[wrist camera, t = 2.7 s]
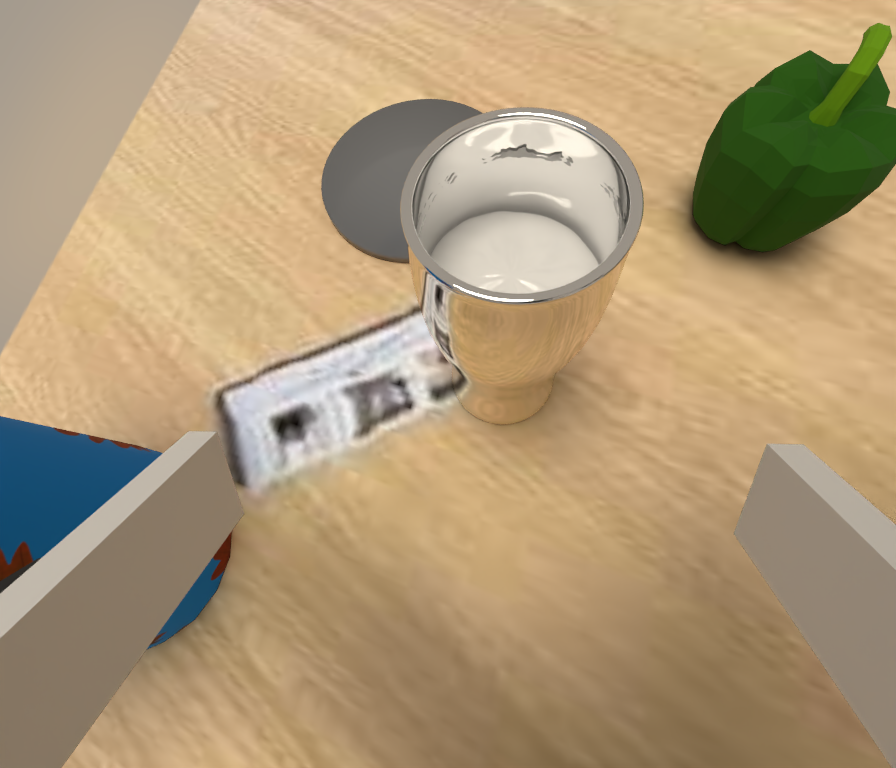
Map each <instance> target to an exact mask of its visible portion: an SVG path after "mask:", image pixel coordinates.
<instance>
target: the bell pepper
mask: <svg viewBox="0 0 896 768" xmlns="http://www.w3.org/2000/svg"><path fill="white" fill-rule="evenodd" d="M891 38H892V34H891V29H890V26H886V25H883V24H880V23H877V24H875V25H873V26H871V27H869V28H868V30H867V31H866V32H865V33H864V34H863V40H862V43H861V45H860V47H859V49H858V51H857V53H856V54H855V56H854V58H853V59H852V61H851V62H850V64H833V63H831V62H829V61H827V60H826V59H824V58H822V57H821V56H819V55H817V54H816V53H814V52H812V51H810V50H809V51H807V52H806V53H804V54H802V55H800V56H798V57H796V58H794V59H792V60H790V61H788V62H786V63H784V64H783V65H781V66H779V67H777V68H775V69H774V70H772V71H771V72H770V73H769V74H767V75H766V76H765V77H764V78H762V79H761V80H760V81H759V82H757V83H756V85H755V86H754V87H750V88H749V89H748V90H747V91H745V92H744V93H743V94H742V95H740V96H739V97H738V98H737V99H735V100H734V101H733V102H731V103H730V104H729V106H728V107H727V108H726V110H725V111H724V112H723V114H722V116H721V118H720V120H719V121H718V123H717V125H716V127H715V129H714V131H713V132H712V134H711V136H710V138H709V140H708V141H707V143H706V147H705V150H704V153H703V157H702V160H701V163H700V167H699V170H698V174H697V178H696V182H695V187H694V191H693V216H694V218H695V221H696V223H697V224H698V225H699V226H700V228H701V229H702V230H703V232H704V233H705V234H706V236H707V237H708V238H710V239H712V240H714V241H716V242H718V243H720V244H723V245H726V244H729V243H732V242H734V241H736V242H737V243H738V244H739V245H741V246H742V247H743V248H745V249H750V250H755V251H760V252H766V251H773V250H776V249H778V248H780V247H782V246H784V245H786V244H789V243H791V242H793V241H795V240H797V239H799V238H801V237H803V236H805V235H807V234H809V233H811V232H813V231H815V230H817V229H819V228H821V227H823V226H824V225H826V224H828V223H830V222H832V221H833V220H835V219H837V218H839V217H840V216H842V215H844V214H846V213H848V212H849V211H850V210H851V209H852V208H854V207H855V206H856V205H857V204H858V203H860V202H861V201H862V200H863V199H865V198H866V197H867V196H868V195H869V194H871V193H872V192H873V191H874V190H875V189H877V188H878V187H879V186H880V185H881V183H882V182H883V181H884V179H885V178H886V176H887V175H888V174H889V172H890V171H891V170H892V168H893V167H894V166H895V164H896V109H895V108H892V107H889V106H886V105H887V101H888V97H889V94H890V91H889V89H888V86H887V84H886V82H885V80H884V77H883V75H882V73H881V71H880V68H879V66H878V64H877V63H878V62H879V60H880V59H881V57H882V56H883V54H884V52H885V50H886V48H887V46H888V44H889V42H890V40H891Z"/></svg>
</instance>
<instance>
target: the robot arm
mask: <svg viewBox="0 0 896 768" xmlns="http://www.w3.org/2000/svg"><path fill="white" fill-rule="evenodd" d="M243 514H244V512H243V509H242V506H241V503H240V500H239V497H238V494H237V491H236V488H235V485H234V482H233V479H232V475H231V472H230V469H229V466H228V463H227V460H226V457H225V454H224V451H223V448H222V445H221V442H220V439H219V436H218V433H217V432H204V431H188V432H187V433H186V434H185V435H184V436H183V437H181V438H180V439H179V440H178V441H177V442H176V443H174V444H173V445H172V446H171V447H170V448H169V449H168V450H166V451H165V452H164V453H163V454H162V455H161V456H159V457H158V458H157V459H156V460H155V461H154V462H152V463H151V464H150V465H149V466H148V467H147V468H145V469H144V470H143V471H142V472H141V473H140V474H139V475H137V476H136V477H135V478H134V479H133V480H132V481H130V482H129V483H128V484H127V485H126V486H125V487H123V488H122V489H121V490H120V491H119V492H118V493H116V494H115V495H114V496H113V497H112V498H111V499H109V500H108V501H107V502H106V503H105V504H104V505H103V506H101V507H100V508H99V509H98V510H97V511H96V512H94V513H93V514H92V515H91V516H90V517H89V518H87V519H86V520H85V521H84V522H83V523H82V524H80V525H79V526H78V527H77V528H76V529H75V530H73V531H72V532H71V533H70V534H69V535H68V536H67V537H65V538H64V539H63V540H62V541H61V542H60V543H58V544H57V545H56V546H55V547H54V548H53V549H51V550H50V551H49V552H48V553H47V554H46V555H44V556H43V557H42V558H38V559H36V560H34V561H33V562H31V563H29V564H28V565H26V566H25V567H23V568H21V569H20V570H18V571H16V572H15V573H13V574H11V575H10V576H8V577H6V578H5V579H3V580H1V581H0V768H62V766H63V765H64V764H65V762H66V761H67V759H68V758H69V757H70V755H71V754H72V752H73V751H74V750H75V748H76V747H77V746H78V744H79V743H80V741H81V740H82V739H83V737H84V736H85V734H86V733H87V732H88V730H89V729H90V727H91V726H92V725H93V723H94V722H95V720H96V719H97V718H98V716H99V715H100V713H101V712H102V711H103V709H104V708H105V707H106V705H107V704H108V702H109V701H110V700H111V698H112V697H113V695H114V694H115V693H116V691H117V690H118V688H119V687H120V686H121V684H122V683H123V681H124V680H125V679H126V677H127V676H128V675H129V673H130V672H131V670H132V669H133V668H134V666H135V665H136V663H137V662H138V661H139V659H140V658H141V656H142V655H143V654H144V652H145V651H146V649H147V648H148V647H149V645H150V644H151V643H152V641H153V640H154V638H155V637H156V636H157V634H158V633H159V631H160V630H161V629H162V627H163V626H164V624H165V623H166V622H167V620H168V619H169V617H170V616H171V615H172V613H173V612H174V611H175V609H176V608H177V606H178V605H179V604H180V602H181V601H182V599H183V598H184V597H185V595H186V594H187V592H188V591H189V590H190V588H191V587H192V585H193V584H194V583H195V581H196V580H197V579H198V577H199V576H200V574H201V573H202V572H203V570H204V569H205V567H206V566H207V565H208V563H209V562H210V560H211V559H212V558H213V556H214V555H215V553H216V552H217V551H218V549H219V548H220V547H221V545H222V544H223V542H224V541H225V540H226V538H227V537H228V535H229V534H230V533H231V531H232V530H233V528H234V527H235V526H236V524H237V523H238V521H239V520H240V519H241V517H242V516H243ZM734 535H735V536H736V538H737V539H738V541H739V542H740V544H741V545H742V547H743V548H744V550H745V551H746V553H747V554H748V556H749V557H750V558H751V560H752V561H753V563H754V564H755V566H756V567H757V569H758V570H759V572H760V573H761V575H762V576H763V578H764V579H765V581H766V582H767V584H768V585H769V587H770V588H771V590H772V591H773V593H774V594H775V595H776V597H777V598H778V600H779V601H780V603H781V604H782V606H783V607H784V609H785V610H786V612H787V613H788V615H789V616H790V618H791V619H792V621H793V622H794V624H795V625H796V627H797V628H798V630H799V631H800V632H801V634H802V635H803V637H804V638H805V640H806V641H807V643H808V644H809V646H810V647H811V649H812V650H813V652H814V653H815V655H816V656H817V658H818V659H819V661H820V662H821V664H822V665H823V667H824V668H825V669H826V671H827V672H828V674H829V675H830V677H831V678H832V680H833V681H834V683H835V684H836V686H837V687H838V689H839V690H840V692H841V693H842V695H843V696H844V698H845V699H846V701H847V702H848V704H849V705H850V706H851V708H852V709H853V711H854V712H855V714H856V715H857V717H858V718H859V720H860V721H861V723H862V724H863V726H864V727H865V729H866V730H867V732H868V733H869V735H870V736H871V738H872V739H873V741H874V742H875V743H876V745H877V746H878V748H879V749H880V751H881V752H882V754H883V755H884V757H885V758H886V760H887V761H888V763H889V764H890V766H891V767H892V768H896V525H895V524H894V523H893V522H892V521H891V520H890V519H889V518H887V517H886V516H885V515H884V514H883V513H882V512H880V511H879V510H878V509H877V508H876V507H875V506H874V505H872V504H871V503H870V502H869V501H868V500H867V499H866V498H864V497H863V496H862V495H861V494H860V493H859V492H857V491H856V490H855V489H854V488H853V487H852V486H851V485H849V484H848V483H847V482H846V481H845V480H844V479H842V478H841V477H840V476H839V475H838V474H837V473H836V472H834V471H833V470H832V469H831V468H830V467H829V466H827V465H826V464H825V463H824V462H823V461H822V460H821V459H819V458H818V457H817V456H816V455H815V454H814V453H812V452H811V451H810V450H809V449H808V448H807V447H806V446H804V445H801V444H767V445H766V447H765V450H764V453H763V456H762V458H761V461H760V464H759V466H758V469H757V472H756V474H755V477H754V480H753V483H752V485H751V488H750V491H749V493H748V496H747V499H746V502H745V504H744V507H743V510H742V512H741V515H740V518H739V521H738V523H737V526H736V529H735V531H734Z"/></svg>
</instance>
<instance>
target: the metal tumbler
mask: <svg viewBox="0 0 896 768" xmlns="http://www.w3.org/2000/svg"><path fill="white" fill-rule="evenodd" d="M400 215H401V223H402V228H403V232H404V235H405V238H406V243H407V249H408V256H409V263H410V268H411V274H412V280H413V284H414V288H415V292H416V296H417V300H418V304H419V307H420V310H421V313H422V316H423V318H424V321H425V323H426V326H427V328H428V331H429V333H430V335H431V337H432V338H433V340H434V342H435V343H436V345H437V346H438V348H439V349H440V351H441V353H442V354H443V355H444V357H445V358H446V359H447V360H448V362H449V363H450V364H451V365H452V385H453V389H454V392H455V394H456V396H457V398H458V400H459V402H460V403H461V404H462V406H463V407H464V408H465V409H466V410H467V411H468V412H469V413H471V414H472V415H473V416H475V417H477V418H478V419H480V420H483V421H485V422H489V423H493V424H513V423H517V422H520V421H523V420H525V419H527V418H529V417H531V416H532V415H534V414H535V413H536V412H538V411H539V410H540V409H541V407H542V406H543V405H544V404H545V402H546V401H547V399H548V397H549V395H550V392H551V389H552V386H553V378H554V375H555V374H556V373H557V372H558V371H560V370H561V369H562V368H563V367H564V366H565V365H566V364H567V363H568V362H569V361H570V360H571V359H572V358H573V357H574V356H575V355H576V354H577V353H578V352H579V351H580V350H581V349H582V348H583V346H584V345H585V344H586V342H587V341H588V339H589V338H590V336H591V335H592V333H593V331H594V330H595V328H596V327H597V325H598V324H599V322H600V320H601V318H602V316H603V314H604V312H605V310H606V308H607V306H608V304H609V302H610V300H611V298H612V295H613V293H614V290H615V288H616V285H617V283H618V280H619V278H620V275H621V272H622V270H623V267H624V264H625V261H626V258H627V256H628V253H629V250H630V249H631V247H632V245H633V243H634V241H635V239H636V237H637V235H638V232H639V229H640V226H641V222H642V216H643V191H642V186H641V182H640V179H639V176H638V173H637V171H636V169H635V167H634V165H633V163H632V161H631V160H630V158H629V156H628V155H627V153H626V152H625V151H624V150H623V148H622V147H621V146H620V145H619V144H618V143H617V142H616V141H615V140H614V139H613V138H612V137H610V136H609V135H608V134H607V133H605V132H604V131H603V130H601V129H600V128H598V127H597V126H595V125H593V124H591V123H589V122H588V121H585V120H583V119H581V118H579V117H576V116H573V115H570V114H567V113H564V112H560V111H556V110H551V109H544V108H532V107H518V108H507V109H500V110H495V111H490V112H486V113H483V114H480V115H477V116H474V117H471V118H469V119H466V120H464V121H462V122H460V123H458V124H456V125H455V126H453V127H451V128H449V129H448V130H446V131H445V132H443V133H442V134H441V135H439V136H438V137H437V138H436V139H435V140H433V141H432V142H431V143H430V144H429V145H428V146H427V147H426V148H425V149H424V151H423V152H422V153H421V154H420V155H419V157H418V158H417V160H416V161H415V163H414V164H413V166H412V167H411V169H410V171H409V173H408V176H407V178H406V181H405V183H404V187H403V191H402V195H401V204H400Z"/></svg>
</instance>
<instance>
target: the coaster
mask: <svg viewBox="0 0 896 768" xmlns="http://www.w3.org/2000/svg"><path fill="white" fill-rule="evenodd" d="M480 114H483V113H481V112H479V111H478V110H476V109H474V108H471V107H469V106H466V105H464V104H460V103H457V102H453V101H447V100H438V99H420V100H412V101H406V102H401V103H397V104H394V105H391V106H388V107H385V108H382V109H380V110H378V111H376V112H374V113H372V114H370V115H368V116H367V117H365V118H363V119H362V120H360V121H359V122H358V123H356V124H355V125H354V126H352V127H351V128H350V129H349V130H348V131H347V132H346V133H345V134H344V135H343V136H342V137H341V138H340V140H339V141H338V142H337V143H336V145H335V146H334V148H333V149H332V151H331V153H330V155H329V157H328V159H327V161H326V164H325V167H324V170H323V176H322V188H321V190H322V197H323V202H324V205H325V208H326V211H327V213H328V215H329V217H330V219H331V220H332V222H333V224H334V226H335V227H336V229H337V230H338V232H339V233H340V234H341V235H342V236H343V237H344V238H345V239H346V240H347V241H348V242H349V243H350V244H351V245H353V246H354V247H355V248H357V249H359V250H360V251H362V252H364V253H366V254H368V255H371V256H373V257H376V258H379V259H383V260H387V261H391V262H400V263H409V256H408V249H407V243H406V238H405V235H404V232H403V228H402V223H401V215H400V204H401V195H402V191H403V187H404V183H405V181H406V178H407V176H408V173H409V171H410V169H411V167H412V166H413V164H414V163H415V161H416V160H417V158H418V157H419V155H420V154H421V153H422V152H423V151H424V149H425V148H426V147H427V146H428V145H429V144H430V143H431V142H432V141H433V140H435V139H436V138H437V137H438V136H439V135H441V134H442V133H443V132H445V131H446V130H448V129H449V128H451V127H453V126H455V125H456V124H458V123H460V122H462V121H464V120H466V119H469V118H471V117H474V116H477V115H480Z"/></svg>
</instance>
